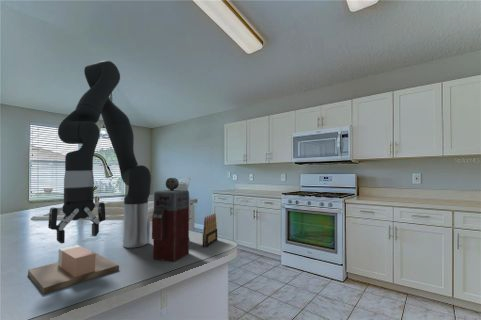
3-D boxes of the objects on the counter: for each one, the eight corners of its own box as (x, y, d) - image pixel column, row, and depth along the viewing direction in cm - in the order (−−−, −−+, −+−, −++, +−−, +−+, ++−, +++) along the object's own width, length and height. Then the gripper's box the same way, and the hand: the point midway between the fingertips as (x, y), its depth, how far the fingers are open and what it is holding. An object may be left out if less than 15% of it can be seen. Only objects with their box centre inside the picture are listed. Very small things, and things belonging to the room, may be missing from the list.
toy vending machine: (148, 261, 78) (149, 178, 80) (168, 250, 88) (169, 177, 90) (170, 264, 75) (171, 178, 77) (189, 253, 85) (189, 177, 87)
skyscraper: (184, 238, 106) (184, 177, 108) (194, 242, 100) (194, 177, 102) (167, 242, 100) (168, 177, 102) (176, 246, 94) (177, 178, 96)
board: (95, 257, 82) (95, 252, 82) (118, 269, 71) (119, 264, 71) (28, 274, 68) (28, 269, 68) (43, 294, 57) (43, 287, 57)
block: (75, 258, 63) (58, 248, 72) (74, 277, 63) (58, 265, 71) (95, 253, 67) (77, 244, 75) (95, 271, 67) (77, 260, 75)
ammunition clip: (213, 239, 103) (213, 212, 103) (217, 240, 102) (217, 212, 103) (202, 247, 93) (202, 216, 93) (206, 247, 92) (206, 217, 93)
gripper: (99, 184, 79) (98, 232, 78) (46, 187, 67) (45, 243, 67) (109, 184, 74) (109, 235, 74) (54, 187, 63) (53, 248, 62)
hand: (78, 239), depth 70 cm, fingers open, 8 cm apart
